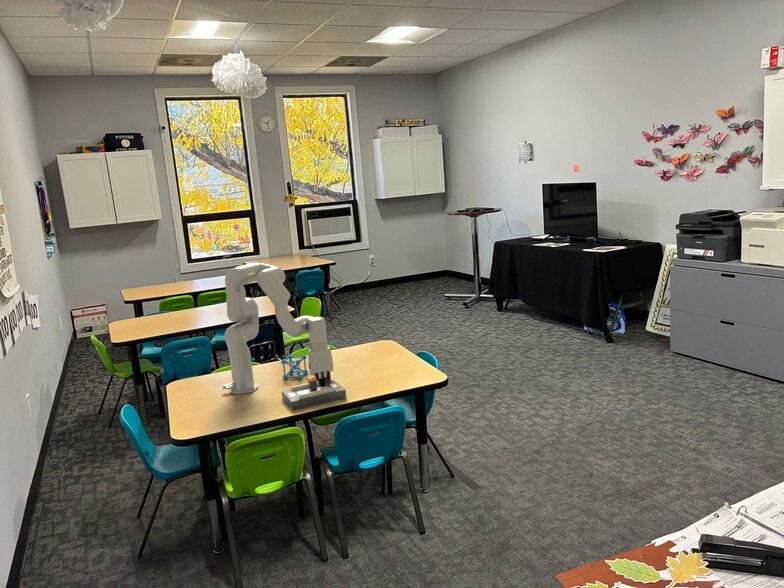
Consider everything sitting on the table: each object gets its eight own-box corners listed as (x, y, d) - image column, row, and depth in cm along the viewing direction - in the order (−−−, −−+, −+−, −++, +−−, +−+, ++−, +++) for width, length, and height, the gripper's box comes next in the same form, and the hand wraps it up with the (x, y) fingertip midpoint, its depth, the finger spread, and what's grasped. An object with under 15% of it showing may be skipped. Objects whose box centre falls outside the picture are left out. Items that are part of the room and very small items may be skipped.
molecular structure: (282, 380, 287) (279, 360, 286) (290, 373, 297) (288, 354, 295) (301, 380, 285) (299, 360, 283) (308, 373, 294) (306, 354, 293)
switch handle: (310, 391, 255) (309, 379, 254) (308, 389, 258) (307, 377, 257) (317, 389, 256) (316, 378, 255) (315, 387, 259) (314, 376, 258)
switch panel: (292, 410, 246) (291, 398, 245) (282, 399, 260) (281, 387, 259) (346, 398, 256) (345, 386, 255) (333, 388, 270) (332, 376, 269)
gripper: (304, 350, 249) (309, 392, 252) (338, 344, 255) (341, 384, 259) (299, 346, 256) (303, 387, 259) (332, 340, 262) (335, 380, 265)
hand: (322, 385), depth 259 cm, fingers closed
